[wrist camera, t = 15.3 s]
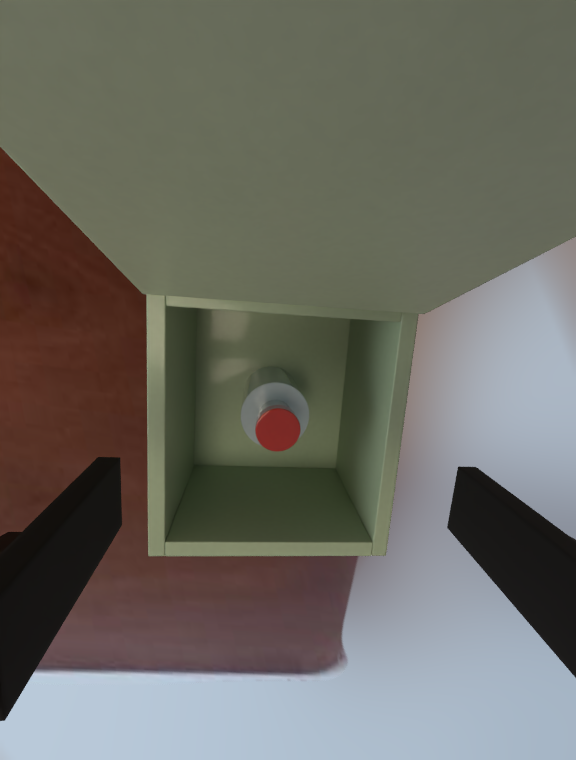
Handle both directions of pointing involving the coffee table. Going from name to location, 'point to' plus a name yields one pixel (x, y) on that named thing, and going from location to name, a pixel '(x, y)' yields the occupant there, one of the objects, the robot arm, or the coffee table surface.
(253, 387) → the bottle
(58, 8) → the lid
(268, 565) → the coffee table surface
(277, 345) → the box
